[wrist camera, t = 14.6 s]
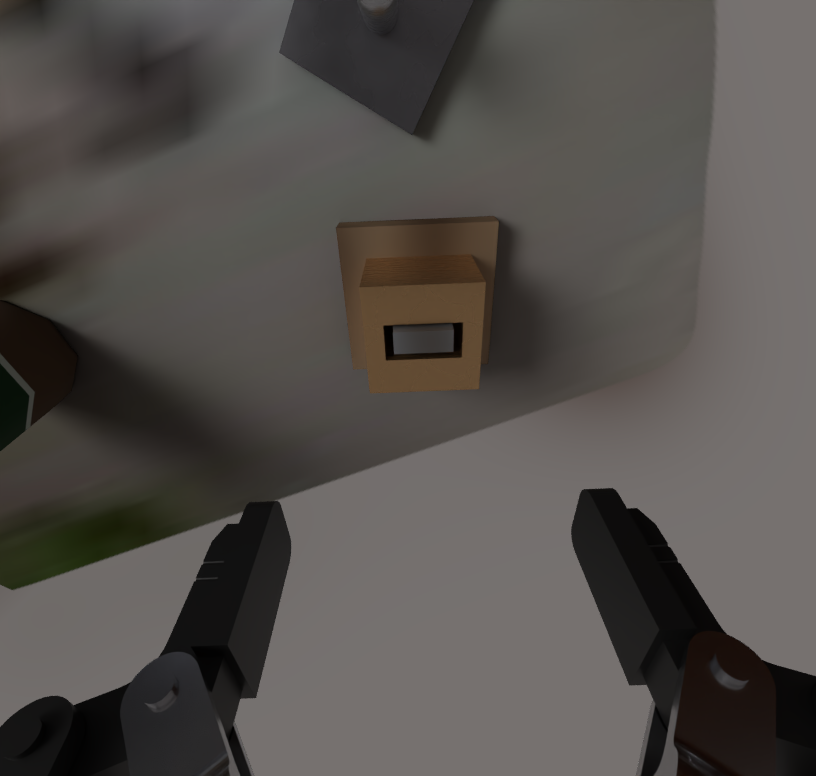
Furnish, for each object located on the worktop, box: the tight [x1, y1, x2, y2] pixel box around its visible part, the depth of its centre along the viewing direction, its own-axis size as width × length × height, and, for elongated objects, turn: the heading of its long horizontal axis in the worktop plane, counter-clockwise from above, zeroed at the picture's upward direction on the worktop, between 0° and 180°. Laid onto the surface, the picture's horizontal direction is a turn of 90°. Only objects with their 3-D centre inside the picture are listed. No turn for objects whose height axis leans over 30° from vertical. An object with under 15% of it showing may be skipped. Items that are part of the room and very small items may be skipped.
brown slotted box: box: [359, 254, 486, 393], centre depth 24 cm, size 6×6×5 cm
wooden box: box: [336, 216, 499, 369], centre depth 24 cm, size 9×9×7 cm
